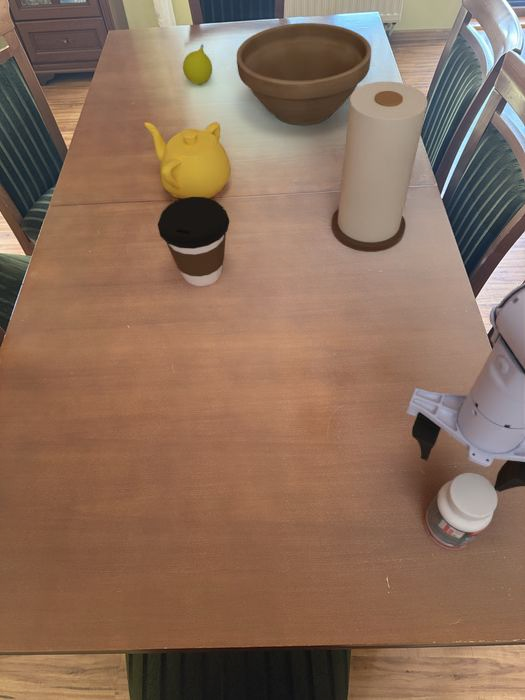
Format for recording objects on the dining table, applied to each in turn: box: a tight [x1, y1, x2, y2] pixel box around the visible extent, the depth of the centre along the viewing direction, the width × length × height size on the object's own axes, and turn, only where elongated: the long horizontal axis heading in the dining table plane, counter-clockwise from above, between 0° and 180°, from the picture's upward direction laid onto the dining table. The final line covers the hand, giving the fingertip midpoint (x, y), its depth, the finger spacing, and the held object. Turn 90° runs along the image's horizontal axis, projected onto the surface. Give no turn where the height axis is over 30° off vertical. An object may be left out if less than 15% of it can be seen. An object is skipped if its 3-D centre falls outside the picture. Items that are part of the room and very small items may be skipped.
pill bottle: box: [424, 472, 498, 550], centre depth 56 cm, size 6×6×10 cm
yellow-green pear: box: [182, 43, 213, 85], centre depth 124 cm, size 7×7×10 cm
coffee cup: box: [157, 197, 230, 288], centre depth 81 cm, size 11×11×12 cm
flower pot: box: [236, 22, 372, 126], centre depth 113 cm, size 28×28×13 cm
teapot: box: [144, 121, 232, 199], centre depth 96 cm, size 14×14×12 cm
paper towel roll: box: [331, 81, 428, 253], centre depth 83 cm, size 13×13×24 cm
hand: (461, 466), depth 54 cm, fingers open, 7 cm apart
